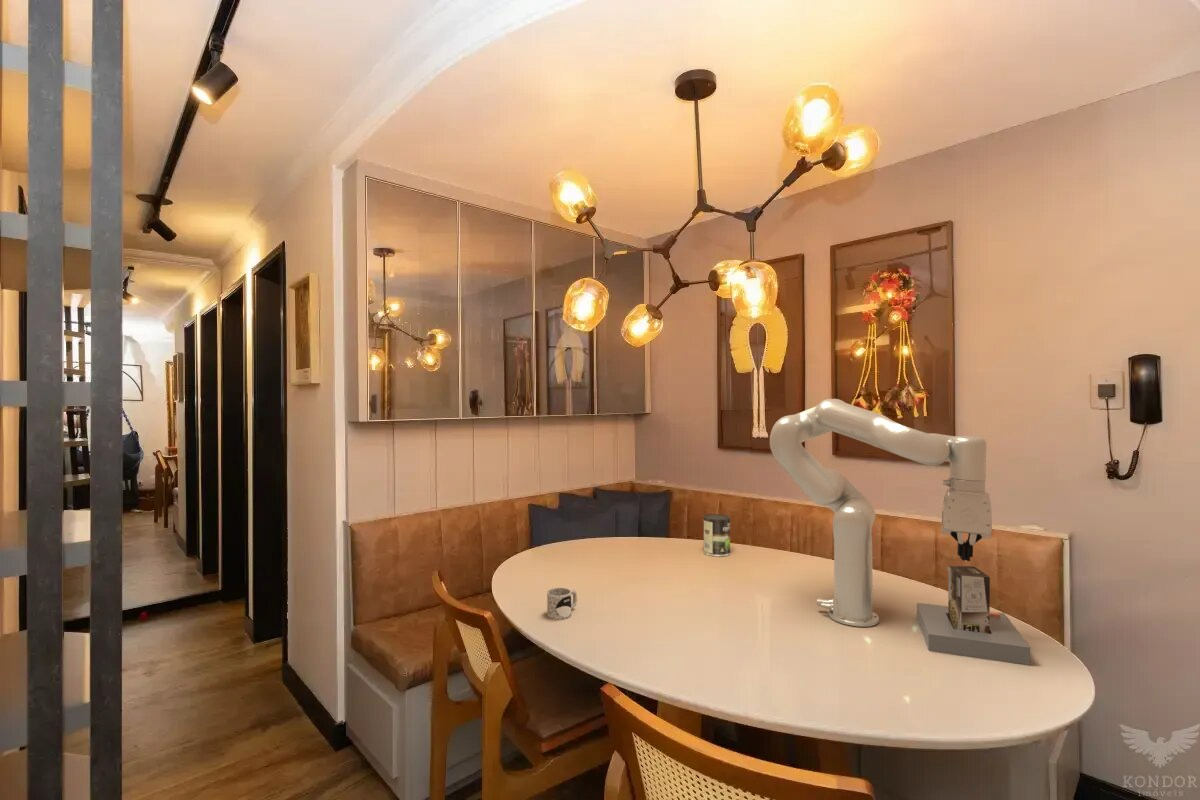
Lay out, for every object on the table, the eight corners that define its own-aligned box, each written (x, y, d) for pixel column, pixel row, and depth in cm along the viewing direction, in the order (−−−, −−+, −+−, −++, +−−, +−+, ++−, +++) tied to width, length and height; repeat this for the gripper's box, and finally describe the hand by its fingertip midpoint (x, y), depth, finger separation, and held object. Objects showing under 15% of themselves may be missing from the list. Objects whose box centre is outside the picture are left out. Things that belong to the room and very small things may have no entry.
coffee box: (991, 644, 137) (991, 577, 137) (961, 641, 139) (961, 575, 138) (975, 629, 146) (975, 565, 146) (947, 626, 147) (947, 564, 147)
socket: (928, 650, 136) (928, 630, 136) (916, 617, 156) (916, 599, 156) (1030, 665, 128) (1030, 644, 128) (1004, 628, 149) (1003, 609, 149)
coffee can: (734, 551, 223) (734, 515, 222) (724, 558, 214) (724, 520, 214) (709, 548, 228) (709, 512, 228) (699, 554, 220) (698, 517, 219)
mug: (558, 622, 155) (558, 597, 155) (542, 616, 159) (542, 592, 159) (584, 611, 162) (584, 588, 162) (568, 606, 167) (568, 583, 167)
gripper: (934, 485, 142) (932, 559, 142) (1007, 490, 136) (1004, 567, 136) (930, 481, 148) (928, 551, 149) (998, 486, 143) (996, 559, 143)
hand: (964, 559), depth 143 cm, fingers closed
